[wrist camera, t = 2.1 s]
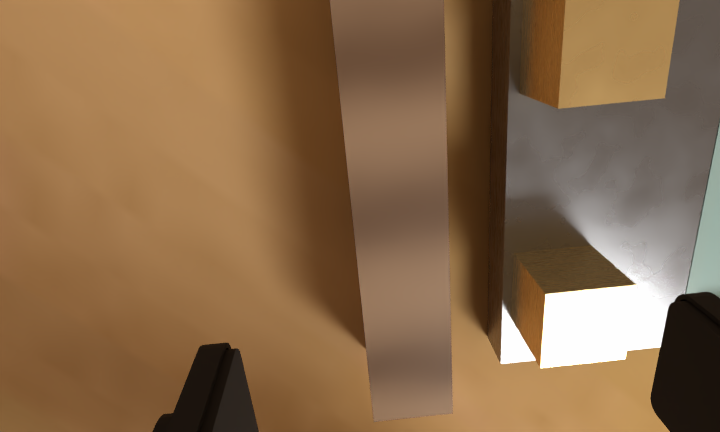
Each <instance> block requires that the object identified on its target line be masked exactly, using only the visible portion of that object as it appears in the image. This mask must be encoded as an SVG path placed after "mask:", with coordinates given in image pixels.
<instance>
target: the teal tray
mask: <svg viewBox="0 0 720 432" xmlns="http://www.w3.org/2000/svg"><path fill="white" fill-rule="evenodd" d="M699 292H711V293H713V294H715V295H716V296H718V297H719V298H720V119H719V124H718V129H717V134H716V139H715V144H714V149H713V154H712V160H711V165H710V170H709V175H708V180H707V185H706V190H705V195H704V200H703V205H702V210H701V215H700V220H699V226H698V231H697V236H696V241H695V246H694V251H693V256H692V261H691V266H690V271H689V276H688V281H687V286H686V291H685V294H690V293H699Z"/></svg>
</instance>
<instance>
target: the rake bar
mask: <svg viewBox="0 0 720 432" xmlns="http://www.w3.org/2000/svg"><path fill="white" fill-rule="evenodd" d="M330 8H331V17H332V27H333V36H334V46H335V55H336V65H337V75H338V84H339V94H340V103H341V113H342V122H343V132H344V142H345V151H346V161H347V170H348V180H349V189H350V199H351V208H352V218H353V228H354V237H355V247H356V256H357V266H358V275H359V285H360V294H361V304H362V314H363V323H364V333H365V342H366V352H367V361H368V371H369V381H370V390H371V400H372V409H373V419H374V422H378V421H387V420H396V419H405V418H415V417H424V416H433V415H442V414H451V413H453V401H452V355H451V309H450V263H449V217H448V171H447V125H446V79H445V33H444V0H330Z"/></svg>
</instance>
